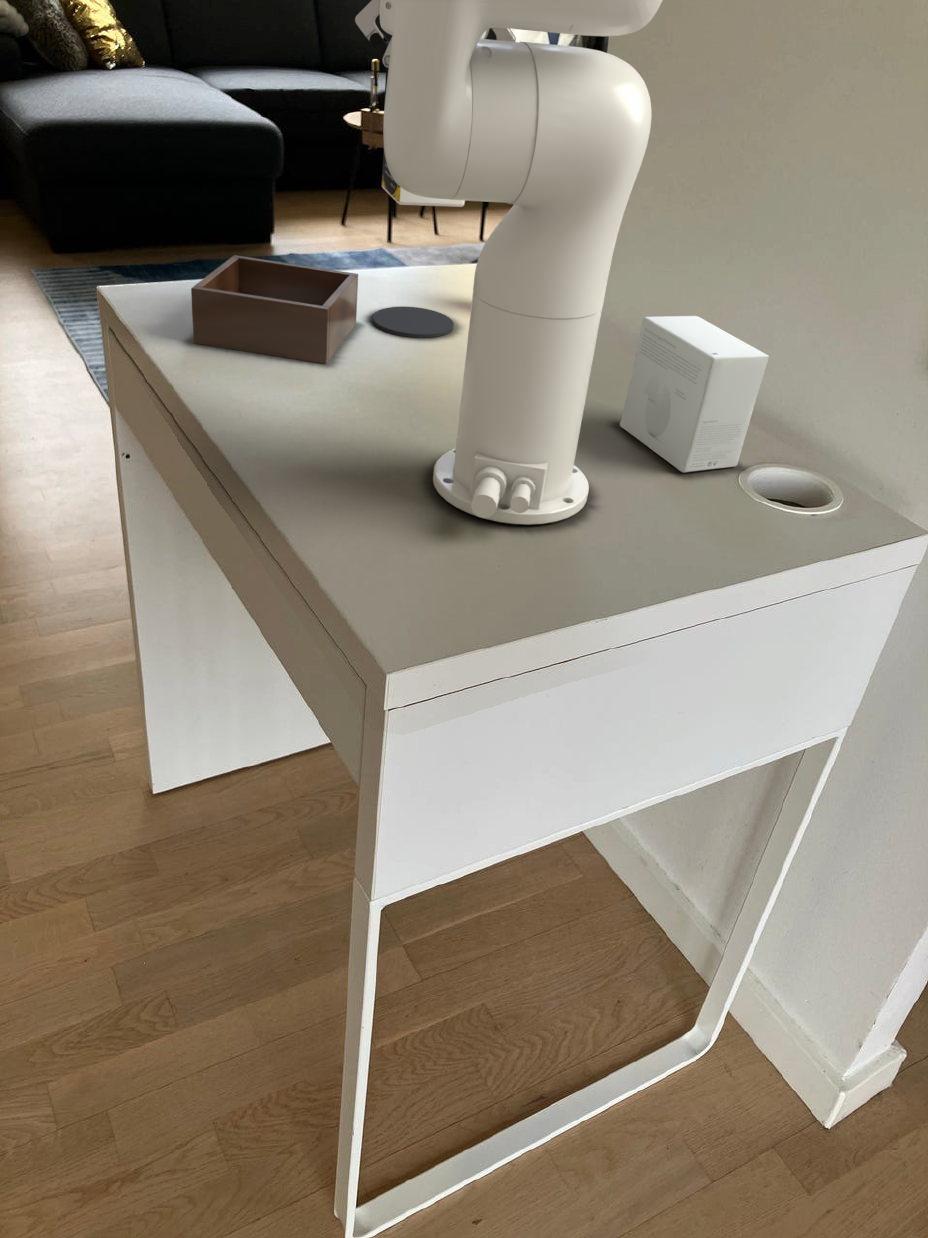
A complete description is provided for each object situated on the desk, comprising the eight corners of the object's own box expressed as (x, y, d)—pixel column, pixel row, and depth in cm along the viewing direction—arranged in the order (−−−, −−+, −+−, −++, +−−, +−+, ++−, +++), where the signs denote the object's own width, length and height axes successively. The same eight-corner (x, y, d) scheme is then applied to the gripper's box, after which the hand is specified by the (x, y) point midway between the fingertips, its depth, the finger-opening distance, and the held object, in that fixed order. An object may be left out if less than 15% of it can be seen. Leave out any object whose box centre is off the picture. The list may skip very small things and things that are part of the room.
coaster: (446, 342, 110) (446, 339, 110) (364, 329, 111) (364, 326, 110) (459, 317, 118) (459, 313, 117) (382, 305, 118) (382, 301, 118)
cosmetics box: (740, 467, 92) (773, 353, 86) (682, 475, 89) (711, 358, 83) (673, 419, 99) (698, 311, 93) (617, 425, 97) (640, 315, 91)
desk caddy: (326, 364, 101) (327, 309, 98) (193, 343, 102) (190, 287, 99) (356, 324, 112) (358, 273, 109) (235, 305, 113) (234, 254, 110)
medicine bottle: (380, 187, 108) (387, 59, 102) (445, 190, 111) (456, 65, 104) (397, 205, 103) (406, 71, 96) (465, 207, 105) (478, 76, 98)
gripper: (341, -117, 90) (334, 109, 100) (537, -92, 89) (509, 134, 99) (361, -114, 96) (352, 99, 106) (544, -91, 95) (517, 122, 105)
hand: (428, 114), depth 102 cm, fingers closed on medicine bottle, 6 cm apart
